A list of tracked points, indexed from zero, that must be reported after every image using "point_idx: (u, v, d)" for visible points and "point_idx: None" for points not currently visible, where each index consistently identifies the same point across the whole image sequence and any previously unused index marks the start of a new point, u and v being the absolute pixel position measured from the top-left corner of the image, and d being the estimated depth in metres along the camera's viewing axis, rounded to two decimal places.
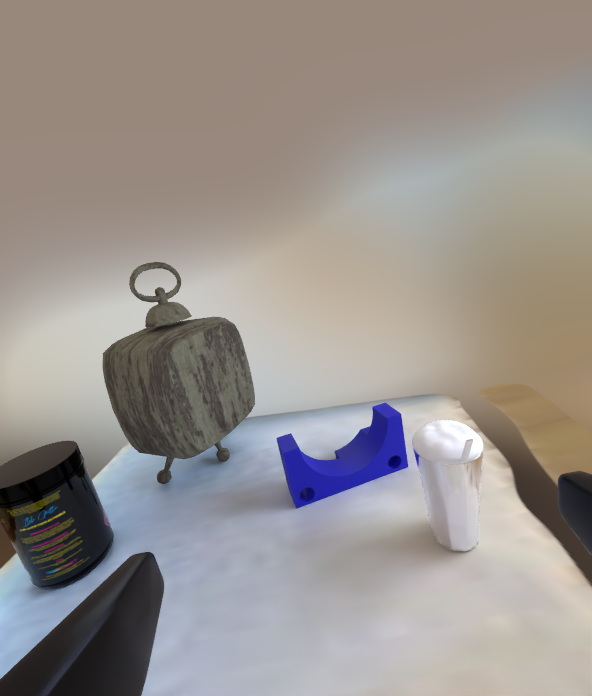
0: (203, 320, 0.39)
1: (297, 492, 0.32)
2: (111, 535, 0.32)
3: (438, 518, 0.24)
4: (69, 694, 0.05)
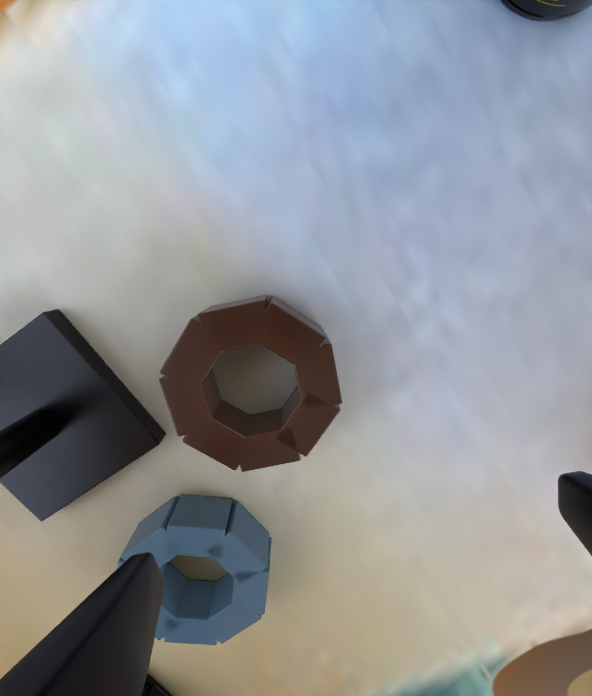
0: None
1: None
2: None
3: None
4: (69, 694, 0.05)
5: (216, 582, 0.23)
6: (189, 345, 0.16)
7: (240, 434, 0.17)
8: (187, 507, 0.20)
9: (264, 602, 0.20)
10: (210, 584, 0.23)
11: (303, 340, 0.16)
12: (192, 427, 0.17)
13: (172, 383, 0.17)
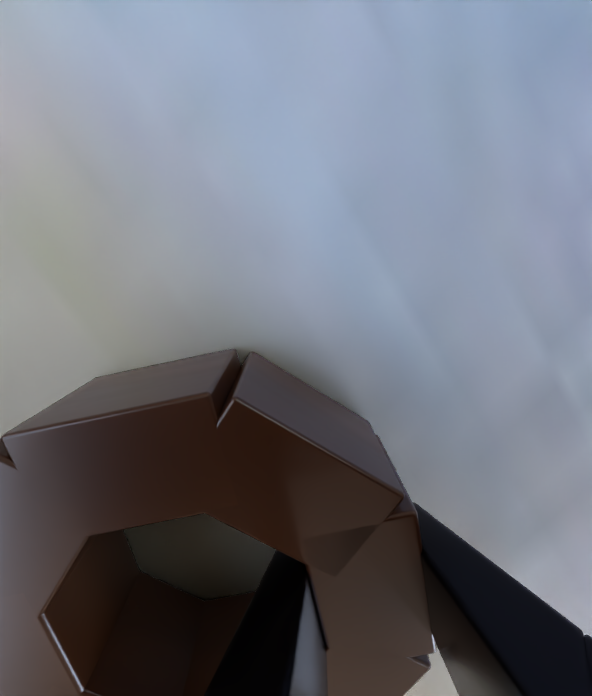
0: None
1: None
2: None
3: None
4: (303, 653, 0.05)
5: None
6: None
7: None
8: None
9: None
10: None
11: (335, 504, 0.05)
12: None
13: None
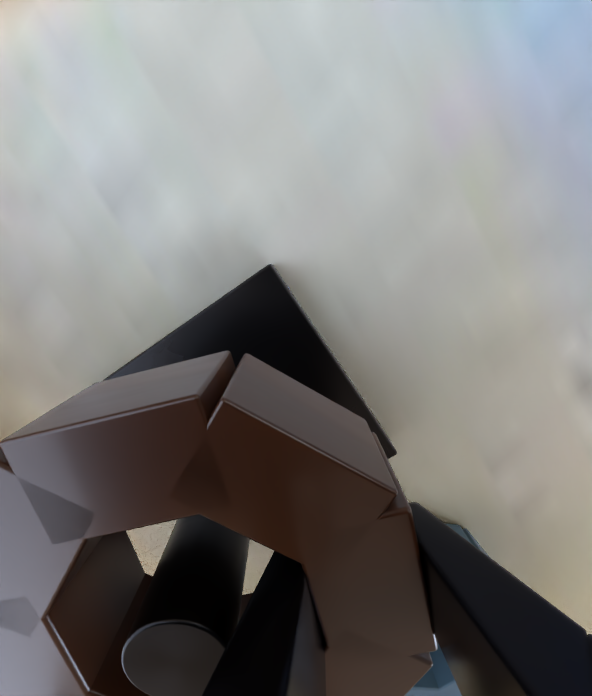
0: None
1: None
2: None
3: None
4: (301, 653, 0.05)
5: None
6: None
7: None
8: None
9: None
10: None
11: (328, 503, 0.05)
12: None
13: None
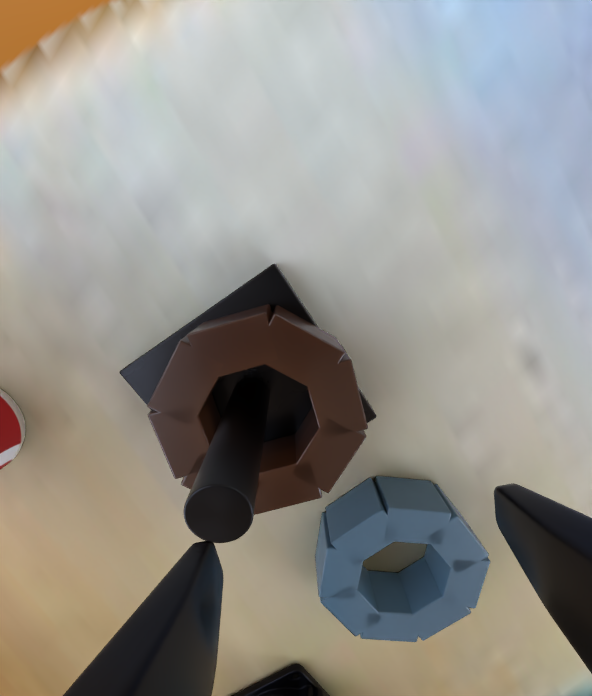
0: None
1: None
2: None
3: None
4: (160, 678, 0.05)
5: (399, 573, 0.21)
6: (180, 372, 0.13)
7: None
8: (394, 489, 0.18)
9: (478, 595, 0.18)
10: (393, 576, 0.21)
11: (317, 357, 0.13)
12: (191, 467, 0.14)
13: (163, 418, 0.14)
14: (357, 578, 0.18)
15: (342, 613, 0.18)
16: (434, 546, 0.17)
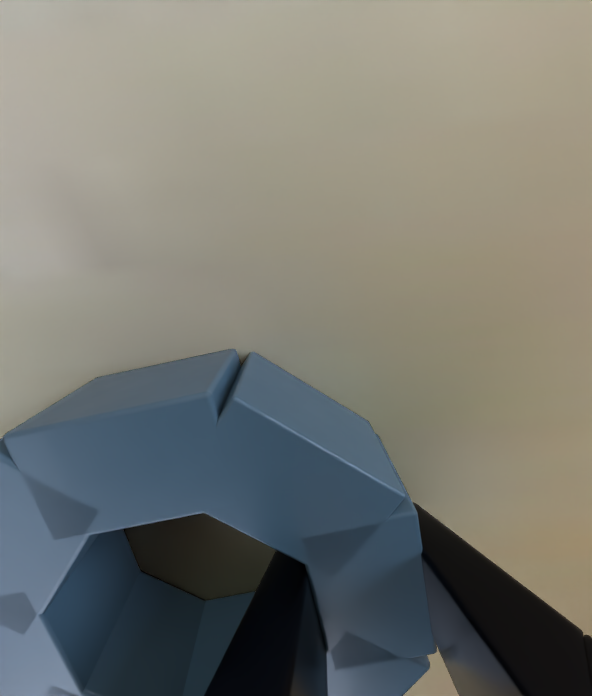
0: None
1: None
2: None
3: None
4: (303, 653, 0.05)
5: None
6: None
7: None
8: None
9: (356, 472, 0.05)
10: None
11: None
12: None
13: None
14: None
15: None
16: (100, 530, 0.05)
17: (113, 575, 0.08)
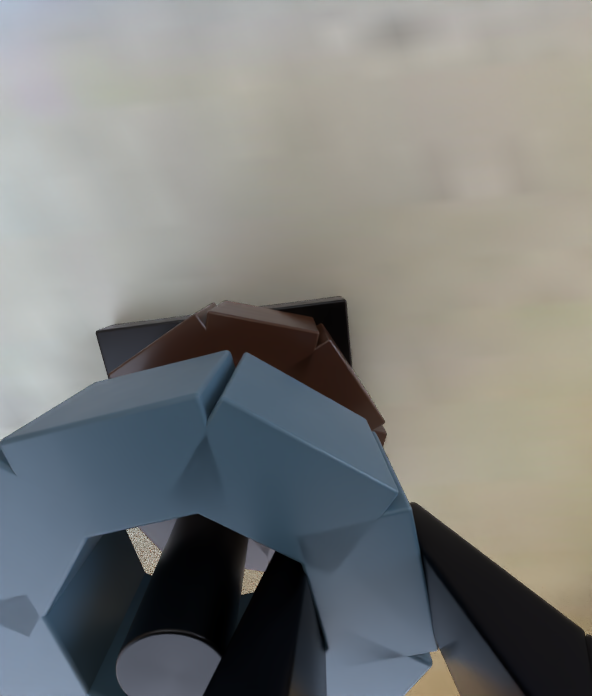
0: None
1: None
2: None
3: None
4: (302, 653, 0.05)
5: None
6: None
7: None
8: None
9: (348, 469, 0.05)
10: None
11: (185, 351, 0.10)
12: (261, 550, 0.11)
13: None
14: None
15: None
16: (97, 532, 0.06)
17: (117, 577, 0.08)
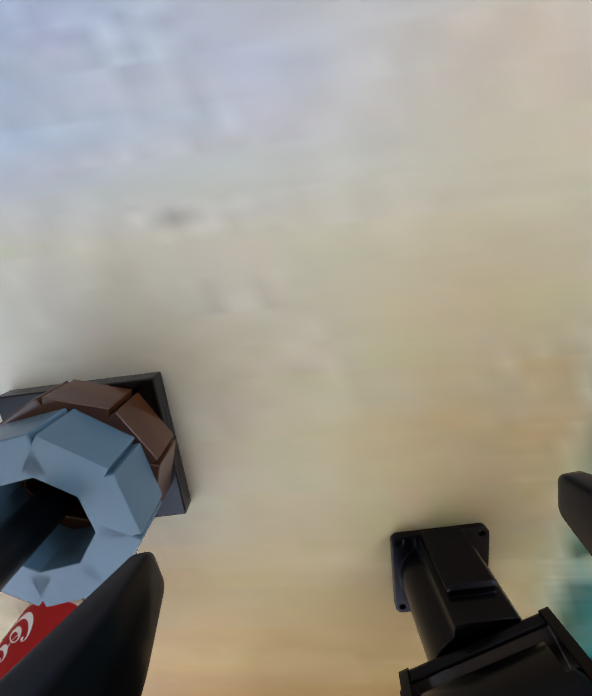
0: None
1: None
2: None
3: None
4: (69, 694, 0.05)
5: None
6: None
7: None
8: None
9: (86, 459, 0.14)
10: None
11: None
12: None
13: None
14: (21, 567, 0.16)
15: (68, 594, 0.16)
16: None
17: None
